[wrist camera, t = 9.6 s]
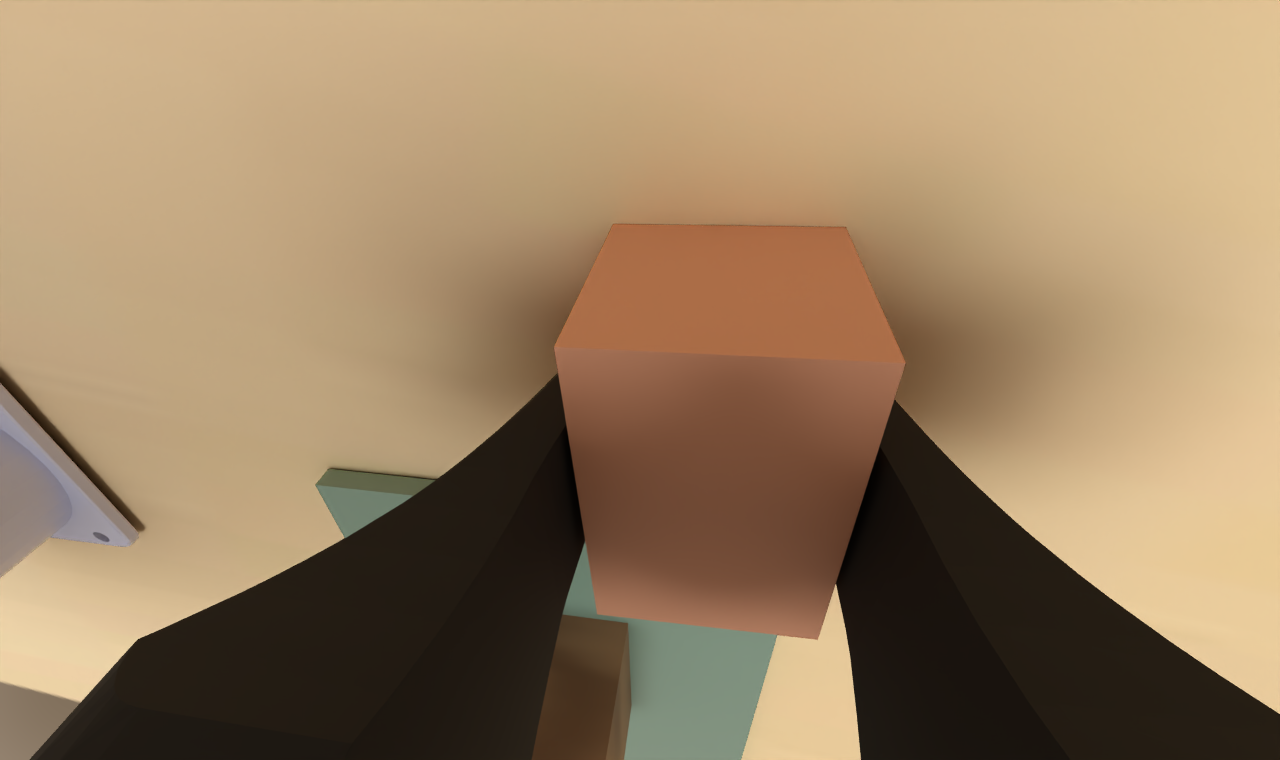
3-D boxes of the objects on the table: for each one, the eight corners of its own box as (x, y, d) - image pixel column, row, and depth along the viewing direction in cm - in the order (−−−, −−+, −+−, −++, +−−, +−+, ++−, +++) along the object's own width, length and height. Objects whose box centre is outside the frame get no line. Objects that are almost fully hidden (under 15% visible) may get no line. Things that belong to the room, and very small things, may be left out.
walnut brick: (529, 690, 21) (493, 818, 18) (504, 607, 17) (452, 750, 14) (631, 705, 20) (612, 840, 17) (628, 622, 17) (603, 775, 13)
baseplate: (458, 718, 25) (452, 732, 25) (328, 468, 15) (315, 484, 15) (735, 762, 24) (735, 778, 23) (802, 518, 13) (805, 538, 13)
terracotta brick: (629, 461, 13) (597, 613, 10) (613, 224, 10) (553, 346, 6) (796, 473, 13) (817, 639, 9) (845, 227, 9) (905, 363, 6)
